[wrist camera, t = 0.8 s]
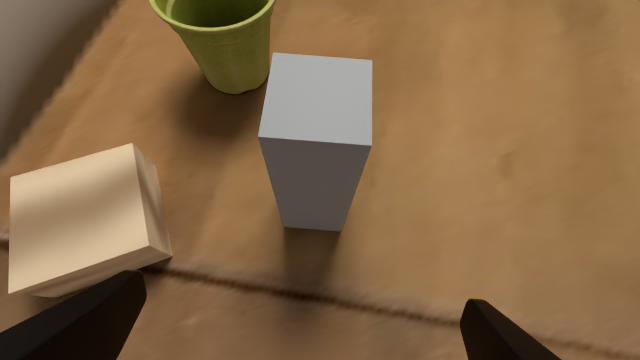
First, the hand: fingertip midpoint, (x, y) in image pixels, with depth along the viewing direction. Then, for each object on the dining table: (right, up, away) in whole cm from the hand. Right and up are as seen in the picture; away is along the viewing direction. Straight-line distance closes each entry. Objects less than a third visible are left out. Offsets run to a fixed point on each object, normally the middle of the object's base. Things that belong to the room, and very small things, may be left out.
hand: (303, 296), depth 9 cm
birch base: (-16, 0, +15) cm, 22 cm away
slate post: (0, +1, +16) cm, 16 cm away
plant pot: (-8, +14, +22) cm, 27 cm away
